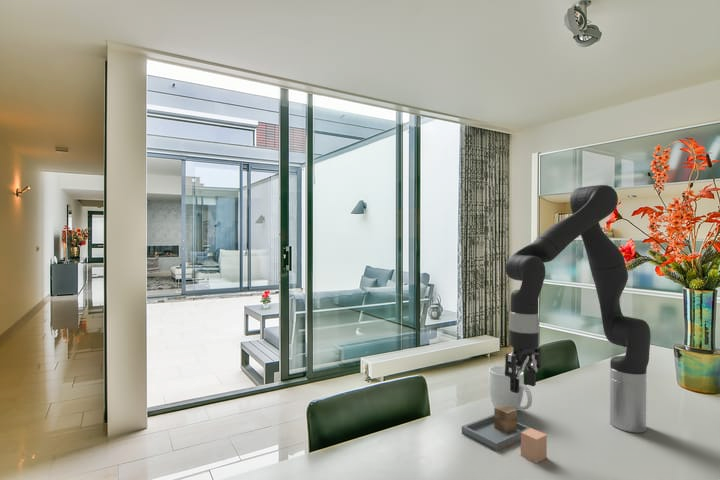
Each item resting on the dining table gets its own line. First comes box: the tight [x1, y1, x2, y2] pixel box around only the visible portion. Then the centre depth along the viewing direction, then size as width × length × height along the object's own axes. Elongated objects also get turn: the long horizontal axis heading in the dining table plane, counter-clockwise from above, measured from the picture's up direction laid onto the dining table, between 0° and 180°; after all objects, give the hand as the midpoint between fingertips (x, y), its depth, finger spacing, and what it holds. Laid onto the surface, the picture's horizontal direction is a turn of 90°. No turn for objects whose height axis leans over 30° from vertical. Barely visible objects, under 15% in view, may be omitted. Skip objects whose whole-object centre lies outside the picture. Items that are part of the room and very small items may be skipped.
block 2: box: [520, 427, 548, 464], centre depth 105 cm, size 4×4×6 cm
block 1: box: [493, 405, 518, 434], centre depth 119 cm, size 4×4×6 cm
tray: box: [461, 413, 531, 452], centre depth 117 cm, size 16×12×2 cm
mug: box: [488, 365, 533, 411], centre depth 133 cm, size 15×11×13 cm
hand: (523, 388), depth 109 cm, fingers open, 8 cm apart
